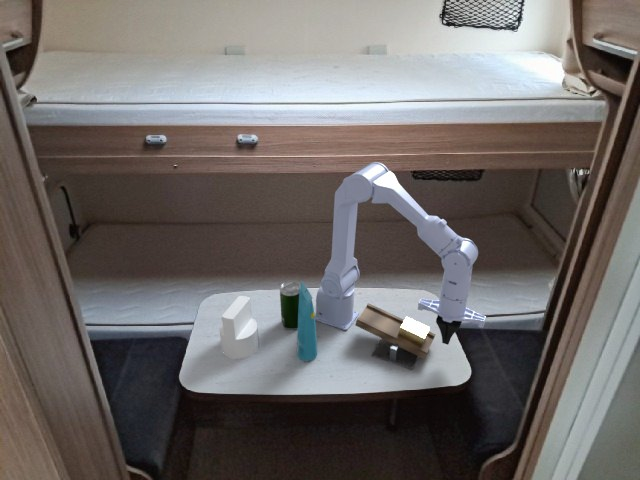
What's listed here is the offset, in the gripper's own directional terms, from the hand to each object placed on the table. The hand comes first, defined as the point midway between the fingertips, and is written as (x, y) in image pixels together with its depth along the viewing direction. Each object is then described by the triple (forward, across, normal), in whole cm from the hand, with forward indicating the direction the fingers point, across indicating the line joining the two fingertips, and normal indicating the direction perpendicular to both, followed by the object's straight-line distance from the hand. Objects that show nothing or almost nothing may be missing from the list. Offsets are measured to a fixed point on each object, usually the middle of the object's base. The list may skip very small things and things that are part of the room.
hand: (446, 341), depth 109 cm
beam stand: (+6, -10, 0) cm, 12 cm away
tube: (+6, -30, -13) cm, 33 cm away
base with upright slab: (+6, -46, -18) cm, 49 cm away
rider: (+2, -8, 0) cm, 8 cm away
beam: (+3, -13, 0) cm, 13 cm away
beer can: (+6, -38, -5) cm, 39 cm away
